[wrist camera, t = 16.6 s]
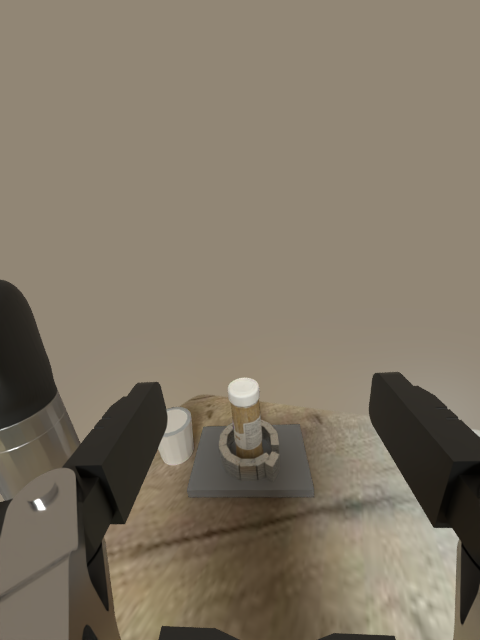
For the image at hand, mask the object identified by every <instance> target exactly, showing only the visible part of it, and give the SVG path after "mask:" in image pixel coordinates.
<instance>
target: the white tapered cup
mask: <svg viewBox="0 0 480 640" xmlns="http://www.w3.org/2000/svg"><path fill="white" fill-rule="evenodd" d="M166 411H167V416H168V421H167V428H166V431H165V433H164V436H163V438H162V440H161V442H160V445H159V447H158V450H159V452H160V454H161V457H162V459H163V461H164V462H165V463H166V464H168V465H178V464H181V463H183V462H185V461H186V460H188V459H189V458H190V456H191V455H192V453H193V450H194V443H193V432H192V420H191V413H190V412H189V411H188V410H187V409H186V408H183V407H172V408H169V409H166Z"/></svg>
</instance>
